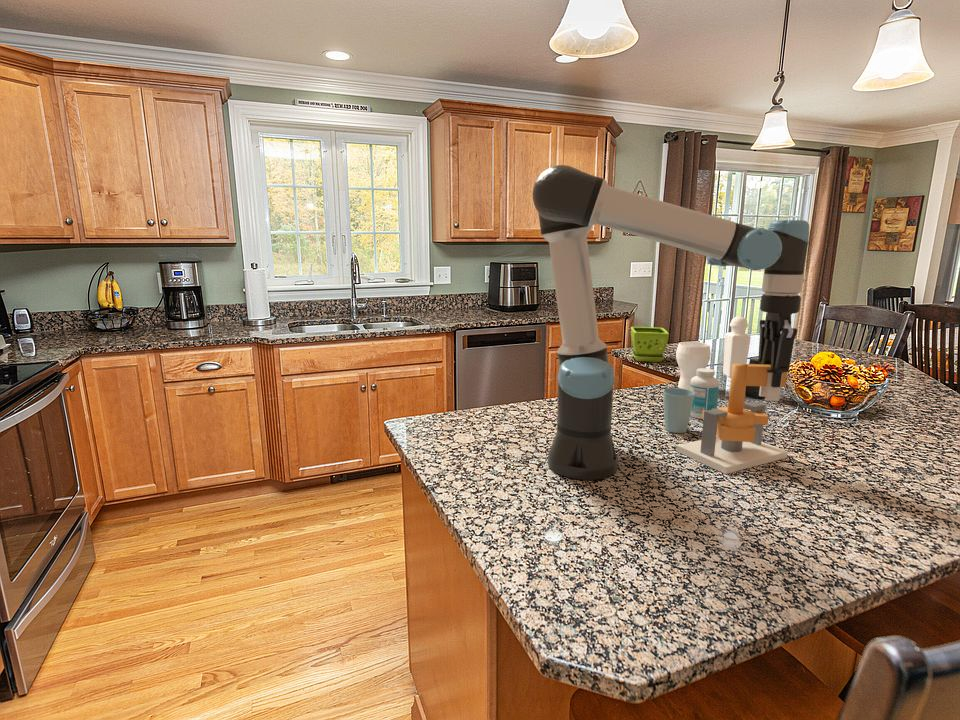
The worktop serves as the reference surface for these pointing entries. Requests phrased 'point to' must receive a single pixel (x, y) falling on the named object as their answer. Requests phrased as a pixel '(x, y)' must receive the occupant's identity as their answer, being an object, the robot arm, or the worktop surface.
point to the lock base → (733, 457)
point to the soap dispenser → (736, 345)
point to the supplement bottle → (753, 390)
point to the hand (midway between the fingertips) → (768, 398)
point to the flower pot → (649, 343)
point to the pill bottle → (704, 392)
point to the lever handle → (738, 418)
